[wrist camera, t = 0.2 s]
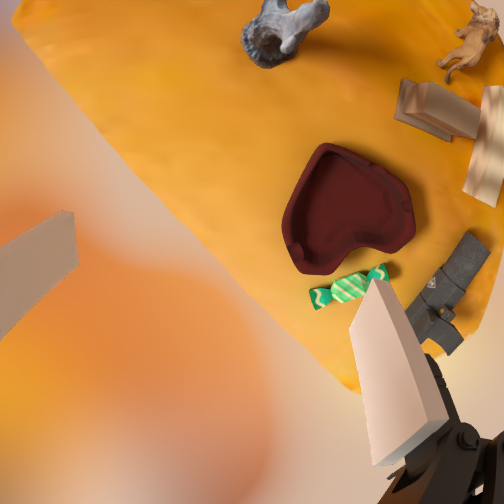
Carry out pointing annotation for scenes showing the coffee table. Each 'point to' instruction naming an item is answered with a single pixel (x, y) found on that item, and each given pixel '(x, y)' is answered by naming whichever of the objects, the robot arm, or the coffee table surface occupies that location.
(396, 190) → the ashtray
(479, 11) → the lion figurine
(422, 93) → the pedestal
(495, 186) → the block
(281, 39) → the antler
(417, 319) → the laser sight
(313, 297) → the candy
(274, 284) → the coffee table surface
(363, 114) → the coffee table surface
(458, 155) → the coffee table surface
